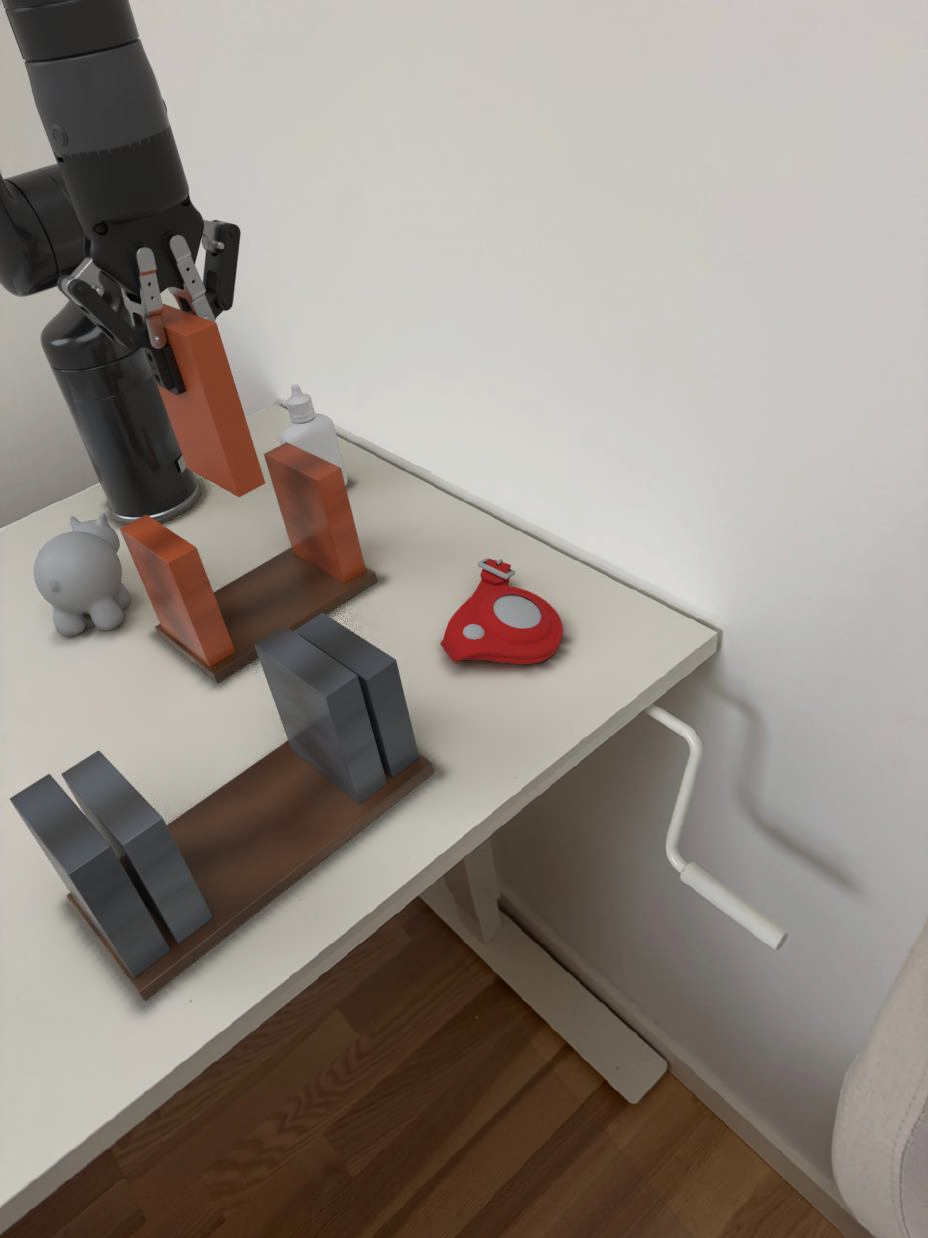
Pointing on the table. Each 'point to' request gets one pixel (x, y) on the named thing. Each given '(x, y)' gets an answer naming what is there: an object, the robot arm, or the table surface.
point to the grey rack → (233, 810)
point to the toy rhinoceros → (82, 576)
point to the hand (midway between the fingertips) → (193, 382)
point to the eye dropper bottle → (311, 430)
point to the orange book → (208, 406)
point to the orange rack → (256, 570)
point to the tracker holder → (502, 622)
